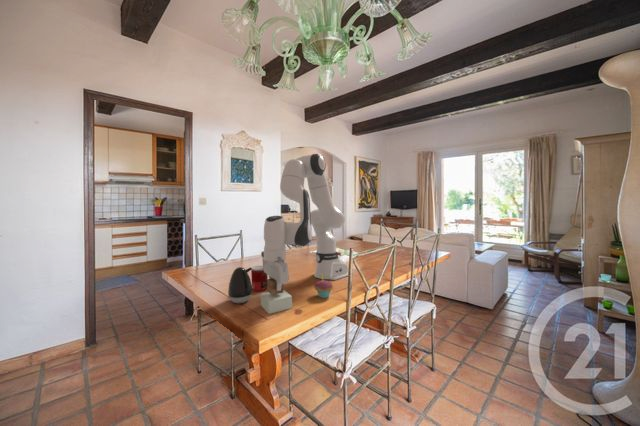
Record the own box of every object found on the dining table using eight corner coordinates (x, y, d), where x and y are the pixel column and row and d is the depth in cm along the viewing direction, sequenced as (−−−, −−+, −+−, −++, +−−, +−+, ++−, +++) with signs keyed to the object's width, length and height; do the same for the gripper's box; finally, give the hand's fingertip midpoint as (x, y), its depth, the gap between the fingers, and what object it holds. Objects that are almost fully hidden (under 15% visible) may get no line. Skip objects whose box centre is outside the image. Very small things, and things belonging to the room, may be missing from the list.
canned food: (264, 292, 123) (263, 270, 122) (248, 291, 124) (248, 269, 124) (270, 287, 130) (269, 265, 130) (255, 286, 132) (255, 265, 131)
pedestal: (282, 300, 113) (282, 289, 113) (292, 308, 105) (292, 296, 104) (260, 305, 108) (260, 293, 108) (269, 314, 100) (268, 301, 99)
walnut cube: (278, 288, 109) (278, 277, 109) (283, 292, 105) (283, 280, 105) (267, 291, 107) (267, 279, 107) (271, 294, 103) (271, 282, 102)
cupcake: (329, 300, 112) (329, 273, 111) (311, 298, 115) (311, 272, 114) (335, 293, 120) (334, 268, 120) (318, 291, 123) (318, 267, 122)
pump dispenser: (256, 302, 111) (255, 268, 110) (231, 308, 105) (230, 272, 105) (249, 295, 120) (248, 263, 119) (226, 299, 114) (225, 266, 113)
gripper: (292, 259, 98) (293, 294, 99) (273, 250, 115) (273, 280, 116) (277, 261, 95) (278, 297, 95) (259, 251, 112) (260, 282, 113)
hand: (275, 287), depth 106 cm, fingers closed on walnut cube, 5 cm apart
